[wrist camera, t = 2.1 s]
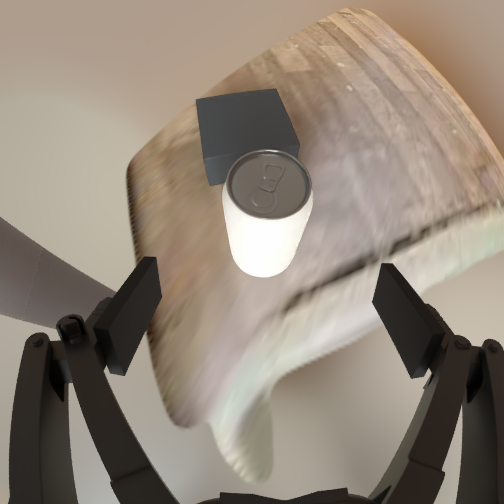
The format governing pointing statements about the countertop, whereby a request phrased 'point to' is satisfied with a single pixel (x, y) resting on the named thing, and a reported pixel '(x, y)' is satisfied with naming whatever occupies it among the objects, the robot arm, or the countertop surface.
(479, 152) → the countertop surface
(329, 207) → the countertop surface
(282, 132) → the grey block
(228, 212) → the can
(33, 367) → the robot arm
